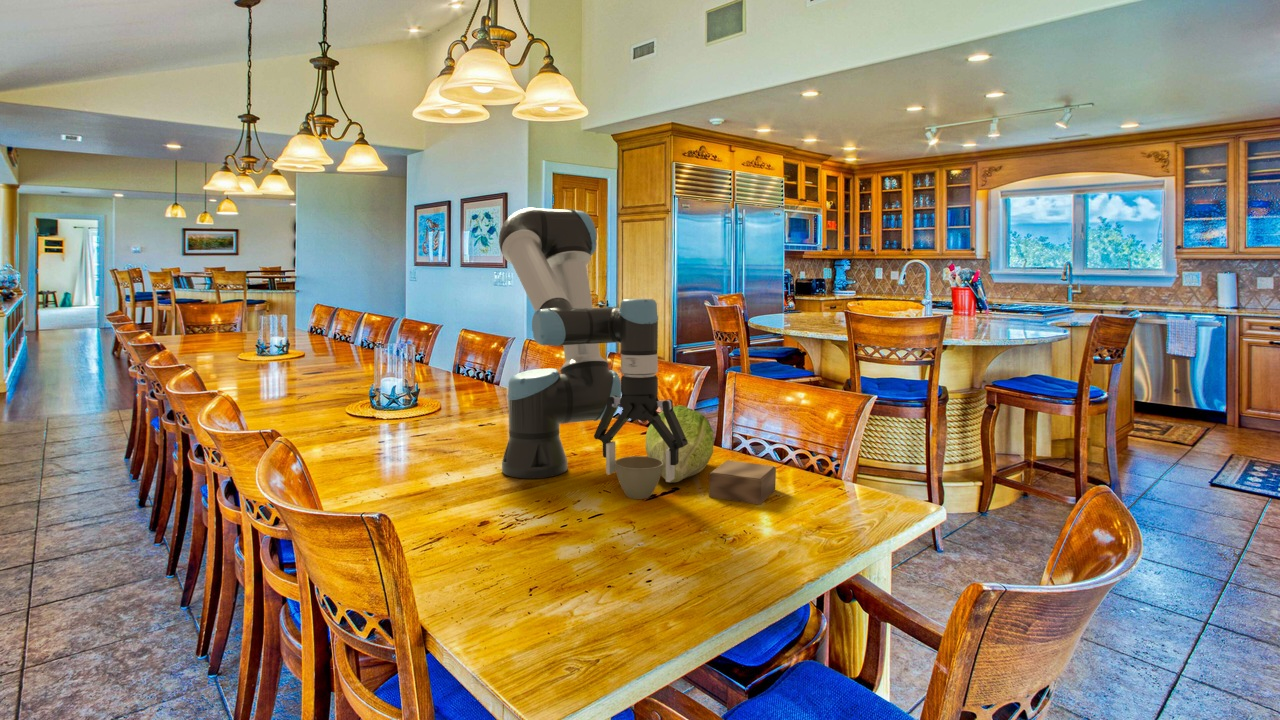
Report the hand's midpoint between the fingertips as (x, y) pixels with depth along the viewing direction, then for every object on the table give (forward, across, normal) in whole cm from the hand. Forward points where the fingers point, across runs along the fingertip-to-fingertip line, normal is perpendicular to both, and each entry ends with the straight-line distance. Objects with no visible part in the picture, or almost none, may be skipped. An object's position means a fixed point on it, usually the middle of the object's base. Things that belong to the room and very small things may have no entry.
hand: (640, 476), depth 145 cm
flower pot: (+4, 0, 0) cm, 4 cm away
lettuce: (+4, 0, +19) cm, 19 cm away
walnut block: (+4, +18, +11) cm, 22 cm away
